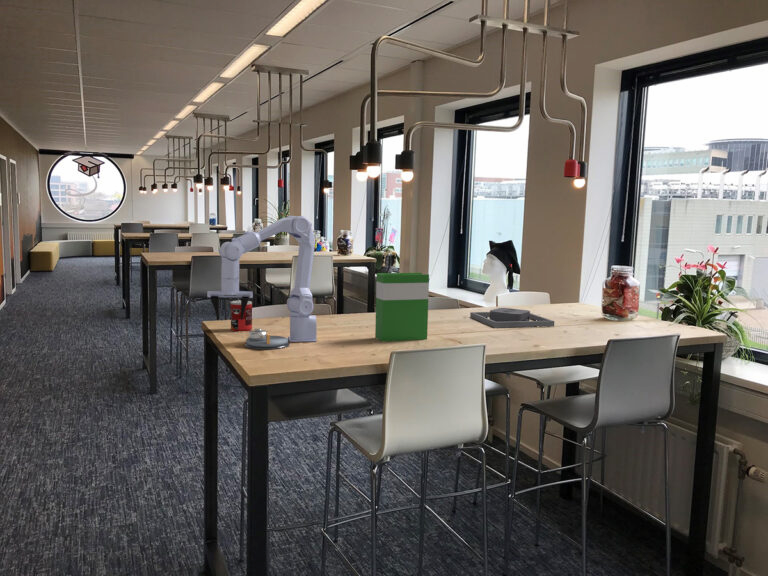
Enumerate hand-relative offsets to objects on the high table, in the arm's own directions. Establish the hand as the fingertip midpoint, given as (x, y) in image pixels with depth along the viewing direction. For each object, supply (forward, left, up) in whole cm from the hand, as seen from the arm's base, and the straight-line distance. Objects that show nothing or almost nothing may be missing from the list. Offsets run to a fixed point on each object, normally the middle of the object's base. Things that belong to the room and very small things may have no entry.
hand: (230, 318), depth 208 cm
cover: (-9, -1, -8) cm, 12 cm away
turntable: (-12, -1, -10) cm, 16 cm away
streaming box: (-119, -37, -10) cm, 125 cm away
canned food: (-4, -31, -10) cm, 32 cm away
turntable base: (-12, -1, -10) cm, 16 cm away
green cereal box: (-61, -7, -10) cm, 62 cm away
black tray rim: (-119, -37, -10) cm, 125 cm away
